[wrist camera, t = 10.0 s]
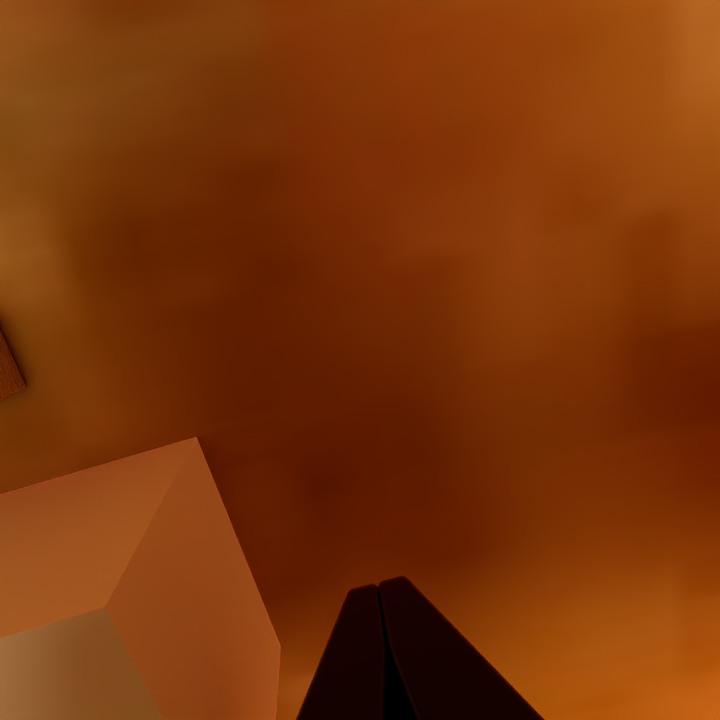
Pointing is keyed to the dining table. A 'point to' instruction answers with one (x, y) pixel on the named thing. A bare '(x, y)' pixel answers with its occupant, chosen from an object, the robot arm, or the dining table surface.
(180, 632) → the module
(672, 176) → the dining table surface
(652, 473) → the dining table surface
